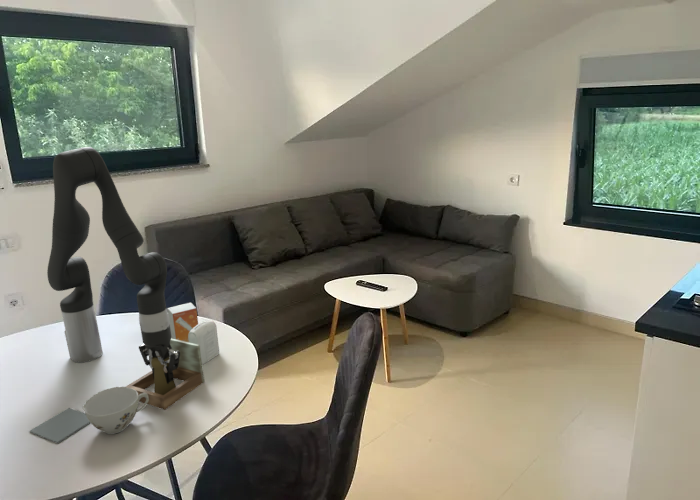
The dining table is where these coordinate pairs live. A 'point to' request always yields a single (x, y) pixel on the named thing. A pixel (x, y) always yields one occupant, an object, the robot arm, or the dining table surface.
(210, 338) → the photo printer
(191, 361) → the cold frame
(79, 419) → the mat
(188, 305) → the small box
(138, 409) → the teacup
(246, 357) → the dining table surface
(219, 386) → the dining table surface
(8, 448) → the dining table surface
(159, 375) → the cork
